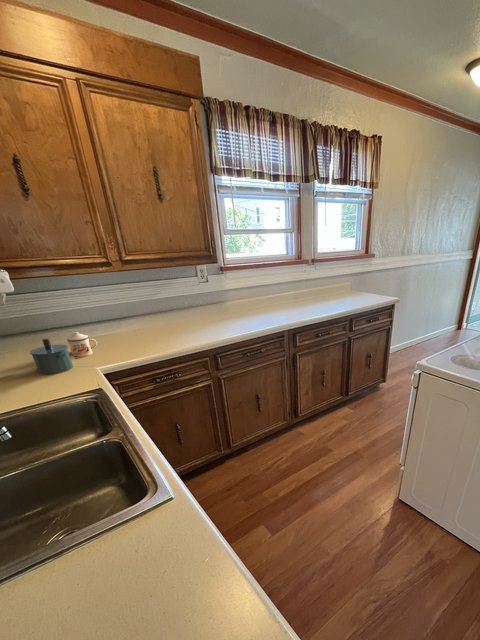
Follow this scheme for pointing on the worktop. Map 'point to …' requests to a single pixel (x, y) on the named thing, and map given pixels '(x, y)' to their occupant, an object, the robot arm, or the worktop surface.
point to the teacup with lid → (80, 345)
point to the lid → (48, 348)
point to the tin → (53, 363)
